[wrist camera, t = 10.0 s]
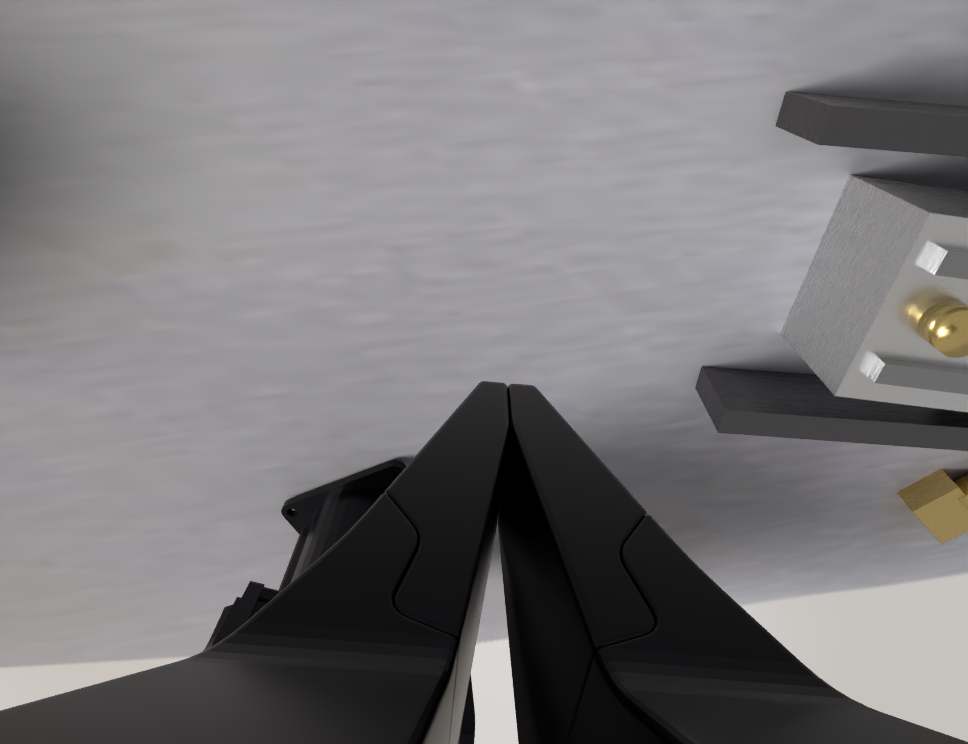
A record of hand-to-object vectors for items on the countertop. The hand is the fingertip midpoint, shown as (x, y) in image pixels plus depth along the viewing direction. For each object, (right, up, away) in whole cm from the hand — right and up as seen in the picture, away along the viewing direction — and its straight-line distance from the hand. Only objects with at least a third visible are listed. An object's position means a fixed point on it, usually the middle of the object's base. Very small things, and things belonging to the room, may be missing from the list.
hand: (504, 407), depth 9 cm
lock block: (+15, +4, +12) cm, 20 cm away
